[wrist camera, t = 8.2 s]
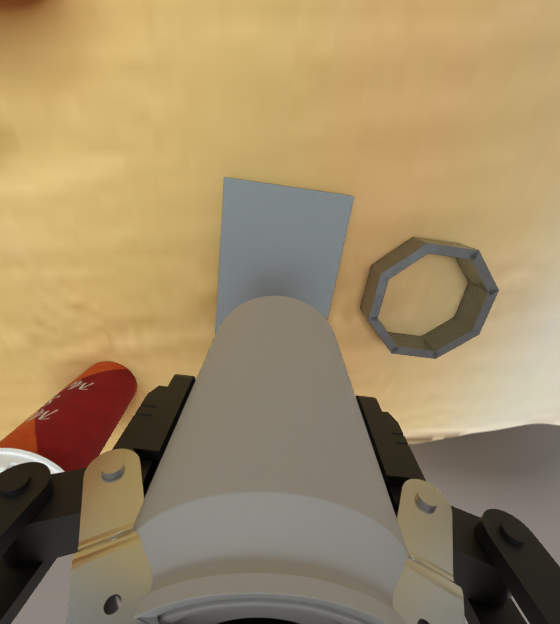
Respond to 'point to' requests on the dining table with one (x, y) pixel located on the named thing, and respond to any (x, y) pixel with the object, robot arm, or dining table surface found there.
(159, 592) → the beverage can
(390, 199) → the dining table surface
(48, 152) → the dining table surface
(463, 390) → the dining table surface
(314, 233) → the mat
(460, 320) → the ring
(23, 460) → the paper cup
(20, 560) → the robot arm
